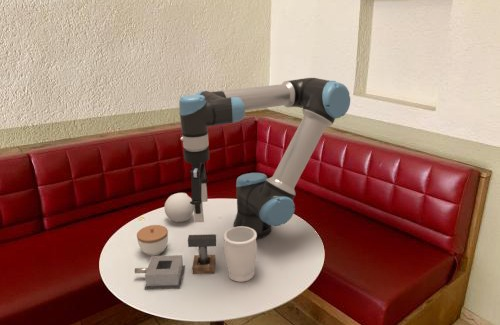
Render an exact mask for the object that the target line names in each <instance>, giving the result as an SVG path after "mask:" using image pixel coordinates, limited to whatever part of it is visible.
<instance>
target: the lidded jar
mask: <svg viewBox="0 0 500 325" xmlns="http://www.w3.org/2000/svg"><path fill="white" fill-rule="evenodd" d="M168 232H169V230H168V228H167V227H166V226H164V225H161V224H152V225H148V226H145V227H142V228H141V229H139V230H138V231H137V233H136V239H137V242H138V243H137V244H138V246H139V248H140V250H141V251H142V252H143V253H145V254H146V255H147V256H151V257H152V256H159V255H160V254H162V253H163V251H165V249H166V247H167V245H168V240H169V235H168V234H169V233H168Z"/></svg>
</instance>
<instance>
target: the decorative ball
mask: <svg viewBox="0 0 500 325" xmlns="http://www.w3.org/2000/svg"><path fill="white" fill-rule="evenodd" d="M190 201H192V197H191V196H189V195H188V194H187V193H186V192H177V193H174V194H171V195H170V196H168V198H167V199H166V201H165V202H164V207H163V208H164V213H165V215H166V217H167V218H168V219H169V220H170V221H171V222H174V223H184V222H186V221H188V220H189V219H190V218H191V217H192V216H193V215H194V210H193V205H192V204H190Z"/></svg>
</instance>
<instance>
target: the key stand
mask: <svg viewBox="0 0 500 325" xmlns="http://www.w3.org/2000/svg"><path fill="white" fill-rule="evenodd" d="M215 265H216V254H208V265H200V261H199V254H194V256H193V261H192V267H191V270H192V275H208V274H209V275H210V274H213V275H214V274H215Z"/></svg>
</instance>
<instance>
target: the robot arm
mask: <svg viewBox="0 0 500 325" xmlns="http://www.w3.org/2000/svg"><path fill="white" fill-rule="evenodd" d="M178 103H179V104H178V105H179V107H178V108H179V117H180V118H179V119H180V126H181V137H180V141H182V147H183V148H184V149H183V158H184V161H185V162H186V163H188V164H191V167H190V177H191V179H190V180H191V182H190V183H191V188H190V189H191V199H192V201H190V204H192V205H193V210H194V211H193V220H194V223H204V222H205V218H204V207H203V204H204V203H205V202H206V203H207V202H208V201H209V200H208V190H207V189H208V187H207V183H209V178H207V174H206V172H207V171H206V166H205V163H206V162H208V161H209V160H210V147H209V144H210V143H209V131H208V127H213V126H219V125H226V124H234V123H237V122H240V121H243V119H244V118H245V114H246V111H253V110H260V109H267V108H272V107H273V108H274V107H281V106H284V107H285V108H300V109H302V111H301V112H302V114H303V117H302V119H301V121H300V123H299V125H298V127H297V129H296V131H295V132H294V135H293V136H292V138H291V140H290V143H289V144H288V146H287V147H286V150H285V152H284V154H283V156H282V158H281V160H279V161H280V162H279V163H278V166H277V167H276V169H275V171H274V173H273V175H272V176H271V177H269V178H268V176H267V175H266V174H265V173H261V172H250V173H244V174H241V175H240V176H238V177H237V179H236V183H235V184H236V185H235V187H236V211H237V212H236V215H235V219H234V220H233V225H232V226H233V227H239V226H244V227H249V228H252V229H254V230H255V231H256V233H257V238H256V240H257V239H261V238H265V237H267V236H269V234H271V232H272V227H279V226H282V225H284V224H286V223H288V222H289V221H290V220H291V219H292V218H293V216H294V213H295V211H296V205H295V203H294V198H295V196H296V195H297V194H296V190H295V187H296V185H297V184H298V182H299V179H300V178H301V175H302V174H303V172H304V170H305V169H306V166H307V164H308V163H309V161H310V159H311V157H312V154H313V153H314V152H315V150H316V147H317V145H318V144H319V141H320V140H321V138H322V135H323V134H324V132H325V129H326V128H328V127H330V126H333V125H334V122H335V121H336V119H340V118H341V117H344V116H345V115H346V114H347V112H348V111H349V109H350V106H351V96H350V90H349V89H348V87H347V86H346V85H345V84H343V83H341V82H338V81H336V80H328V79H322V78H319V77H305V78H299V79H292V80H291V79H290V80H285V81H283V82H282V83H281V84H273V85H264V86H255V87H244V88H236V89H227V90H221V91H219V90H218V91H209V90H199V91H198V92H196V93H195V94H188V95H187V94H186V95H183V96H181V97H180V98H179V102H178ZM233 227H232V228H233Z"/></svg>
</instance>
